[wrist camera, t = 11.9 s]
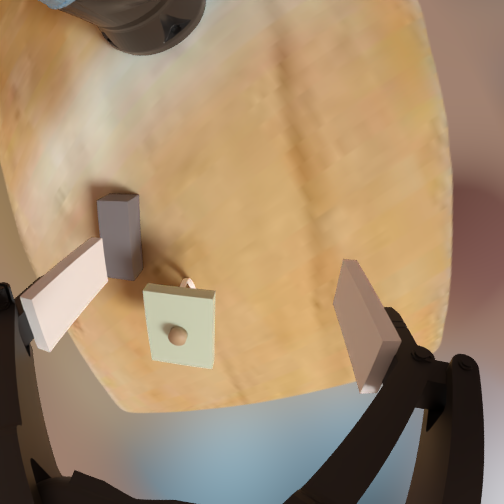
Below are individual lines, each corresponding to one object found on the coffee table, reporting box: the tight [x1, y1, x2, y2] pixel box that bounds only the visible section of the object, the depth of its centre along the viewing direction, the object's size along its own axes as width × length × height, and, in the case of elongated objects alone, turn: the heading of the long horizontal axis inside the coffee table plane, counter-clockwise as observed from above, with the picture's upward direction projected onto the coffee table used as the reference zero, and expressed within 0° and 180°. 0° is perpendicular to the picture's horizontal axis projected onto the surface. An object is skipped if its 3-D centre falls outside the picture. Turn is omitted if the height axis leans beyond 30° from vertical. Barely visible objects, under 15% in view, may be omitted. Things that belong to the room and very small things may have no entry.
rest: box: [97, 194, 143, 281], centre depth 42 cm, size 12×5×4 cm, turn 176°
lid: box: [143, 283, 215, 369], centre depth 39 cm, size 12×9×3 cm
